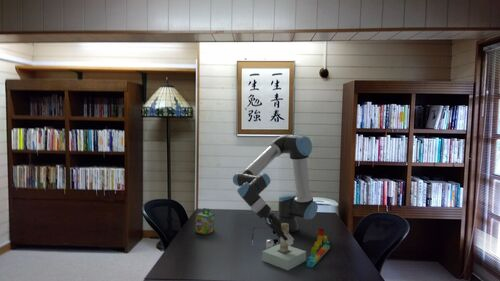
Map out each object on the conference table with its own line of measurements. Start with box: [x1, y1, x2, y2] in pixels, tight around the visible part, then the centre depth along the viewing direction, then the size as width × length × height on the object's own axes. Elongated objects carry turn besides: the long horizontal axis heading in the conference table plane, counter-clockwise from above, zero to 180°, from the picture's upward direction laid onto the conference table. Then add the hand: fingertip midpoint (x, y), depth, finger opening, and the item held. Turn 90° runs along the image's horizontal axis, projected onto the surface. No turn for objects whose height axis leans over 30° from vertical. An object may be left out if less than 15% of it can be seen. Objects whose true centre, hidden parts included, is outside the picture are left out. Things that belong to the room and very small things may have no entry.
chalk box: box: [194, 207, 216, 236], centre depth 213 cm, size 9×9×15 cm
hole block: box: [261, 243, 307, 271], centre depth 173 cm, size 16×16×5 cm
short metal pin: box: [265, 238, 274, 250], centre depth 188 cm, size 4×4×5 cm
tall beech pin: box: [279, 223, 290, 253], centre depth 172 cm, size 4×4×14 cm
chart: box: [305, 227, 331, 269], centre depth 179 cm, size 30×3×15 cm, turn 150°
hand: (291, 242), depth 171 cm, fingers closed on tall beech pin, 4 cm apart
